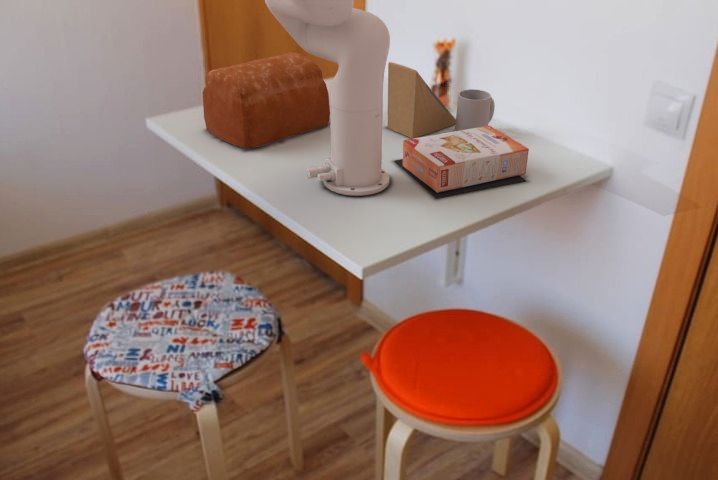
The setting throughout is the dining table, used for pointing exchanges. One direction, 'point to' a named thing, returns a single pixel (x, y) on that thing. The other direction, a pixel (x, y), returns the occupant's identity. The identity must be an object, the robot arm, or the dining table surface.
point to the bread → (265, 100)
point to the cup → (473, 109)
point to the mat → (465, 189)
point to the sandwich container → (414, 104)
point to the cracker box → (464, 158)
